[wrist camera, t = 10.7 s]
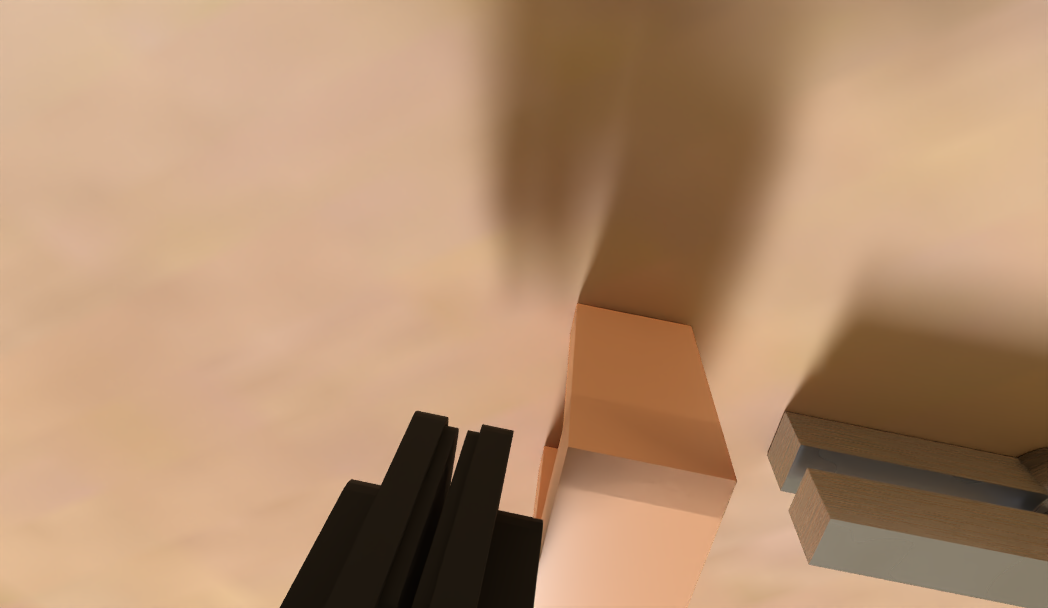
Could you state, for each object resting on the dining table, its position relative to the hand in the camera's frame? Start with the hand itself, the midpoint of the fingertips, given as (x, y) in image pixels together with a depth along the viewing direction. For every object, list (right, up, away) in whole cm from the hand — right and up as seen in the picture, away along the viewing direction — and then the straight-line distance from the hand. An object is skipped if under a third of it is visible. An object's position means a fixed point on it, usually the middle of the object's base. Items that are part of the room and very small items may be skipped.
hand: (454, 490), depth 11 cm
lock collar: (+3, +1, +3) cm, 5 cm away
